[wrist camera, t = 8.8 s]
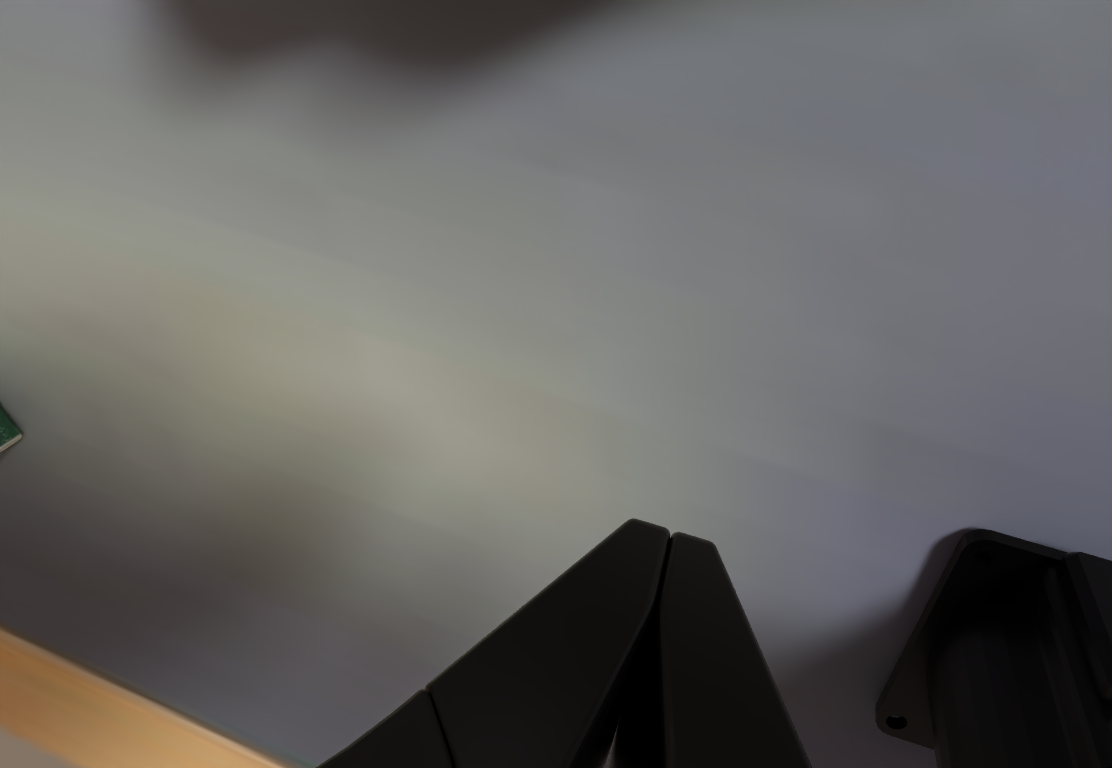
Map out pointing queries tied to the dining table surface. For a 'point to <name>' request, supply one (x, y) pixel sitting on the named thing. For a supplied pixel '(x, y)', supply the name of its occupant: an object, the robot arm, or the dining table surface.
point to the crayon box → (8, 430)
